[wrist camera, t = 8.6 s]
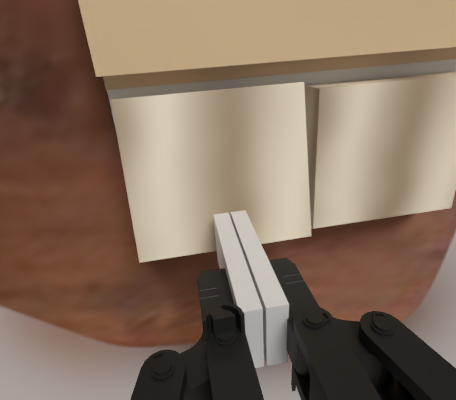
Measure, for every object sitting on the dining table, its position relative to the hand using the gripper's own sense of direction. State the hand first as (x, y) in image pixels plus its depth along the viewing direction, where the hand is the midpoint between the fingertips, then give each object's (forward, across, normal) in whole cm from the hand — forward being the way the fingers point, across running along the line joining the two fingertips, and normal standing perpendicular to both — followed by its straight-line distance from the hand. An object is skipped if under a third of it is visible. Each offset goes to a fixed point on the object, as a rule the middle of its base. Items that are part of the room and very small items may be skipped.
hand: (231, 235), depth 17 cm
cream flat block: (+3, 0, +3) cm, 4 cm away
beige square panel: (+4, +10, +2) cm, 11 cm away
